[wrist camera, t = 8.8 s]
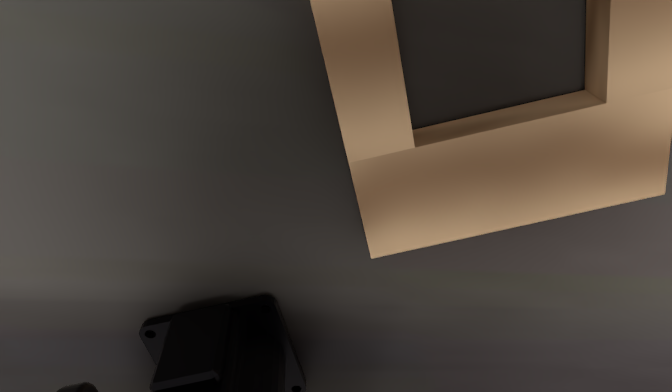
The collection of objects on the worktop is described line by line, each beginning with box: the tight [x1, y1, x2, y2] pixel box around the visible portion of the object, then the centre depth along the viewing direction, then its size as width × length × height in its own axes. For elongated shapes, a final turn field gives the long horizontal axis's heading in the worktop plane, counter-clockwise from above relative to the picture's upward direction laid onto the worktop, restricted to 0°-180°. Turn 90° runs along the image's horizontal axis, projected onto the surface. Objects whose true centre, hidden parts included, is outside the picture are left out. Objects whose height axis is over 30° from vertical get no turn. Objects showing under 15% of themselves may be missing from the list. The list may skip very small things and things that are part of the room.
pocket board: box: [310, 0, 672, 259], centre depth 17 cm, size 16×12×2 cm
